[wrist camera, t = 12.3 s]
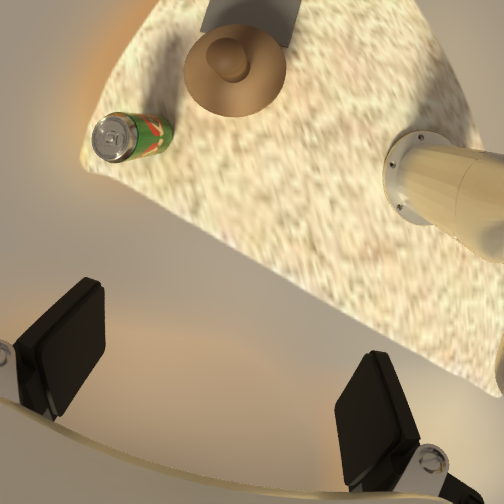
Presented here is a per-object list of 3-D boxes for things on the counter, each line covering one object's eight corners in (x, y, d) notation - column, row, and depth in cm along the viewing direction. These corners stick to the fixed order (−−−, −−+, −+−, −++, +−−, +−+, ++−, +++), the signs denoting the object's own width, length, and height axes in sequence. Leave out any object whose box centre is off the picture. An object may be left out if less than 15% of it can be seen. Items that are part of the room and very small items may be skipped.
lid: (295, 39, 27) (300, 15, 20) (272, 127, 31) (271, 125, 24) (200, 22, 27) (183, -2, 20) (177, 107, 30) (152, 102, 24)
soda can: (142, 113, 36) (93, 109, 24) (178, 119, 36) (138, 114, 24) (134, 150, 37) (85, 160, 26) (169, 157, 38) (128, 168, 26)
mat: (306, -20, 27) (307, -22, 27) (288, 47, 31) (288, 46, 31) (223, -34, 27) (222, -35, 27) (200, 32, 31) (200, 30, 31)
